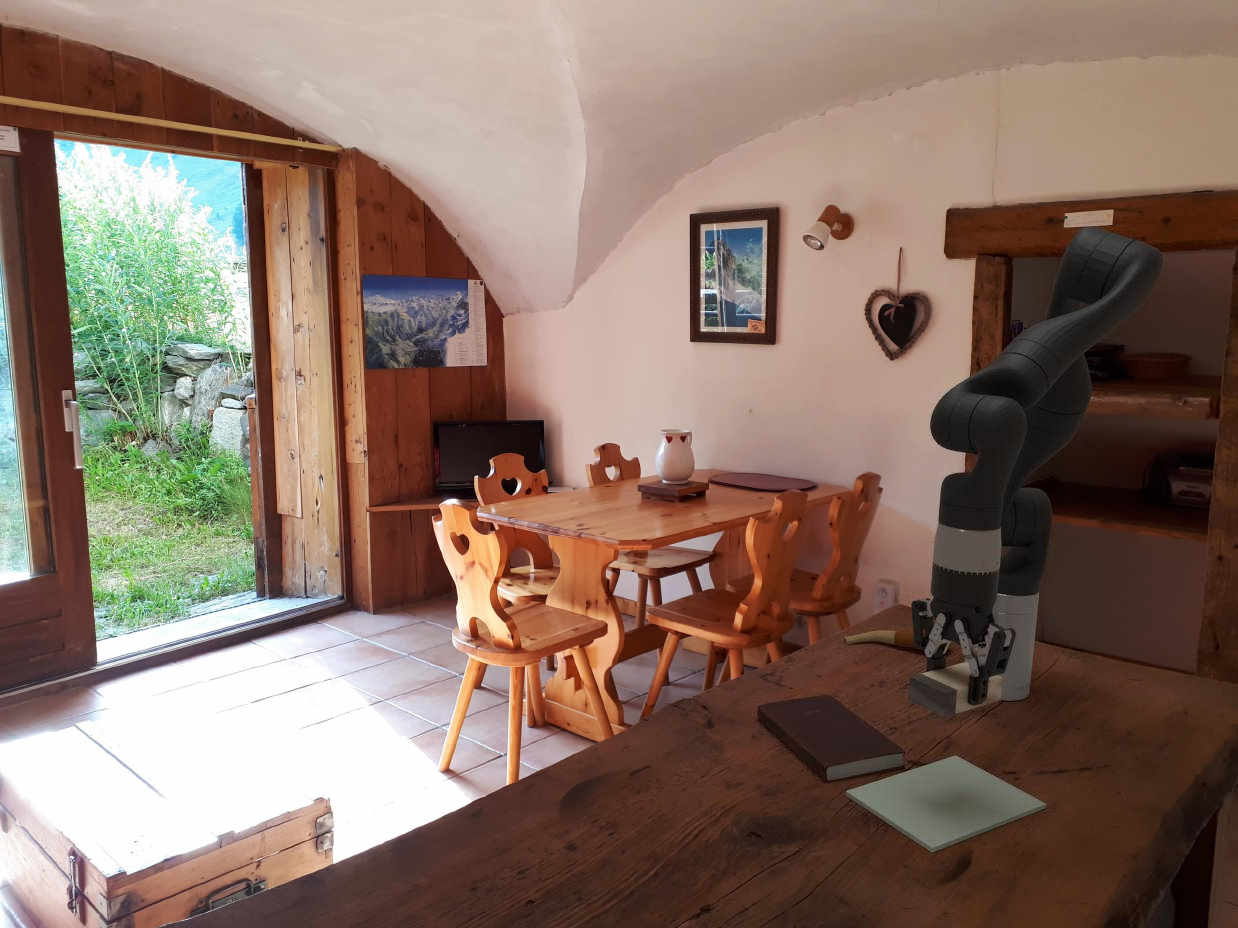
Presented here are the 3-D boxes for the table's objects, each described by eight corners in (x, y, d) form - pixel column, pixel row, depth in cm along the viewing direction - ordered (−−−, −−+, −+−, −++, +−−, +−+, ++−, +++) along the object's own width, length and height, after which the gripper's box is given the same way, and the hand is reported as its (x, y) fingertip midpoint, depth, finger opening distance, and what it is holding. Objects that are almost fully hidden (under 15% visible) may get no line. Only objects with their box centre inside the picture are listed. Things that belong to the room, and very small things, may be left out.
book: (823, 786, 122) (825, 763, 121) (755, 721, 140) (756, 701, 139) (905, 772, 126) (907, 750, 125) (829, 711, 144) (830, 691, 143)
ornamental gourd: (955, 660, 165) (958, 628, 164) (848, 655, 166) (850, 623, 165) (944, 645, 172) (946, 614, 171) (842, 640, 173) (844, 610, 172)
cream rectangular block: (964, 684, 120) (966, 661, 119) (1000, 700, 115) (1002, 677, 114) (907, 699, 115) (909, 676, 114) (943, 717, 110) (945, 692, 110)
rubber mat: (845, 795, 118) (845, 790, 118) (955, 759, 128) (955, 755, 128) (931, 852, 107) (932, 847, 106) (1045, 807, 116) (1046, 803, 116)
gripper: (1039, 572, 108) (1025, 710, 110) (940, 543, 120) (930, 668, 123) (995, 581, 104) (982, 724, 107) (898, 550, 116) (889, 679, 119)
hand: (954, 693), depth 115 cm, fingers closed on cream rectangular block, 5 cm apart
